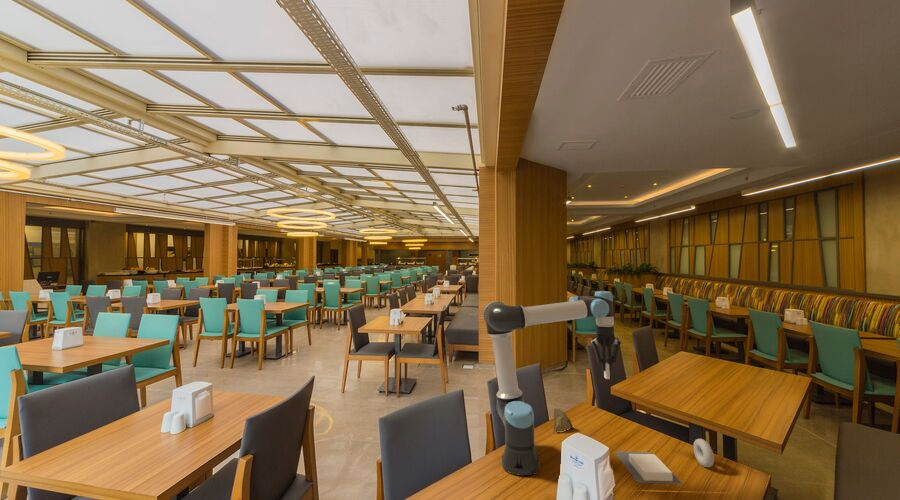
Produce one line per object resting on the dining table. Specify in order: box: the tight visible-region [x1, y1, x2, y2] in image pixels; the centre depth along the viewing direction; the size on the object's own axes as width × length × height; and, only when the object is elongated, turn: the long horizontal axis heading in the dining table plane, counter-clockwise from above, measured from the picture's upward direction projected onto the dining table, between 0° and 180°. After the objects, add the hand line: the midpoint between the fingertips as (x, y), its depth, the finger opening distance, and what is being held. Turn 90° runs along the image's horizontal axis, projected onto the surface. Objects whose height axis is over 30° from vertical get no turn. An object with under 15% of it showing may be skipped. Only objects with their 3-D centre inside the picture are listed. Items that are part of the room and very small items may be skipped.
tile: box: [629, 453, 673, 481], centre depth 137 cm, size 3×10×13 cm
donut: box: [692, 438, 715, 468], centre depth 141 cm, size 10×3×10 cm, turn 175°
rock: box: [553, 408, 574, 433], centre depth 173 cm, size 11×9×10 cm
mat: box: [614, 451, 684, 485], centre depth 140 cm, size 22×16×1 cm
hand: (606, 378), depth 160 cm, fingers closed
